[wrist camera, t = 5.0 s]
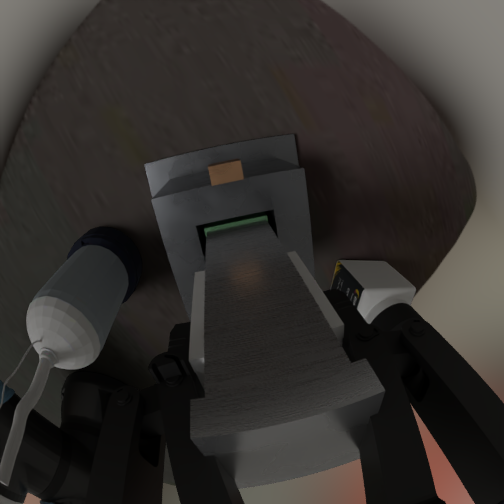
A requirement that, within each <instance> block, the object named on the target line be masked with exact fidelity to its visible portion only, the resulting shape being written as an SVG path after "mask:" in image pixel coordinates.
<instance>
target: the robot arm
mask: <svg viewBox="0 0 504 504" xmlns="http://www.w3.org/2000/svg"><path fill="white" fill-rule="evenodd" d="M287 254H288V256H289V257H290V259H291V261H292V262H293V264H294V266H295V267H296V269H297V271H298V272H299V274H300V276H301V277H302V279H303V281H304V282H305V284H306V286H307V287H308V289H309V291H310V292H311V294H312V296H313V297H314V299H315V301H316V302H317V304H318V306H319V308H320V309H321V311H322V313H323V314H324V316H325V318H326V320H327V321H328V323H329V325H330V326H331V328H332V330H333V332H334V333H335V335H336V337H337V339H338V340H339V342H340V344H341V346H342V347H343V349H344V351H345V353H346V355H347V356H348V358H349V360H350V362H351V363H353V362H356V361H359V360H361V359H364V358H366V359H367V361H368V363H369V364H370V366H371V368H372V369H373V371H374V372H375V374H376V376H377V377H378V379H379V381H380V382H381V384H382V386H383V387H384V389H385V393H384V397H383V400H382V403H381V406H380V409H379V412H378V413H377V414H375V415H372V416H370V419H369V422H368V425H367V428H366V431H365V434H364V437H363V440H362V443H361V445H360V448H359V453H360V459H361V465H362V472H363V479H364V487H365V494H366V503H367V504H446V503H445V501H443V500H441V499H440V498H438V496H437V494H436V490H435V486H434V482H433V477H432V474H431V469H430V466H429V462H428V458H427V455H426V451H425V448H424V444H423V441H422V438H421V435H420V431H419V428H418V425H417V422H416V419H415V416H414V413H413V410H412V407H411V405H412V406H413V408H414V409H415V411H416V412H417V413H418V415H419V417H420V418H421V419H422V421H423V423H424V424H425V425H426V427H427V429H428V430H429V431H430V433H431V434H432V436H433V438H434V439H435V441H436V442H437V444H438V445H439V447H440V448H441V450H442V451H443V453H444V454H445V456H446V458H447V459H448V461H449V462H450V464H451V466H452V467H453V469H454V470H455V472H456V474H457V475H458V477H459V478H460V480H461V482H462V483H463V485H464V487H465V488H466V490H467V491H468V493H469V495H470V497H471V498H472V500H473V501H474V503H475V504H504V403H503V402H502V401H501V400H500V398H499V397H498V396H497V395H496V394H495V393H494V391H493V390H492V389H491V388H490V387H489V386H488V385H487V384H486V382H485V381H484V380H483V379H482V378H481V377H480V376H479V375H478V373H477V372H476V371H475V370H474V369H473V368H472V367H471V366H470V365H469V364H468V363H467V361H466V360H465V359H464V358H463V357H462V356H461V355H460V354H459V353H458V352H457V351H456V350H455V349H454V348H453V347H452V346H451V345H450V344H449V343H448V342H447V341H446V340H445V339H444V338H443V337H442V336H441V335H440V334H439V333H438V332H437V331H436V330H435V329H434V328H433V327H432V326H431V325H430V324H429V323H428V322H426V321H425V320H421V319H410V320H408V321H406V322H405V323H404V324H403V326H402V328H401V330H396V331H381V330H380V328H379V327H377V326H375V325H372V324H368V323H367V322H366V321H365V319H364V318H363V317H362V315H361V314H360V313H359V311H358V310H357V309H356V307H355V306H353V303H352V302H351V301H350V300H349V298H348V297H347V295H346V294H345V293H344V292H342V291H340V290H338V289H337V288H335V289H331V290H327V291H324V292H323V291H322V290H321V288H320V287H319V285H318V284H317V282H316V281H315V279H314V278H313V276H312V275H311V274H310V272H309V271H308V269H307V268H306V266H305V265H304V263H303V262H302V260H301V259H300V257H299V256H298V254H297V253H296V252H295V251H292V252H288V253H287ZM204 297H205V270H204V271H199V272H195V277H194V288H193V300H192V313H191V322H186V323H181V324H176V325H175V326H174V328H173V329H172V331H171V332H170V339H169V340H170V342H169V346H168V347H169V348H168V352H165V353H162V354H160V355H157V356H156V357H155V358H154V359H153V360H152V361H151V363H150V364H149V371H150V373H151V374H152V376H153V378H154V379H155V381H156V384H155V385H153V386H151V387H149V388H146V389H143V390H141V391H138V389H137V388H135V387H133V386H128V385H125V384H124V383H122V382H120V381H118V380H116V379H113V378H111V377H108V376H105V375H102V374H98V373H93V372H76V373H73V374H71V375H69V376H68V377H67V378H66V380H65V382H64V385H63V387H62V391H61V399H62V405H61V419H62V422H61V426H60V428H58V427H57V426H55V425H54V424H53V423H51V422H50V421H49V420H47V419H46V418H45V417H43V416H42V415H41V414H39V413H38V412H37V411H36V410H34V409H32V410H31V411H30V413H29V414H28V417H27V421H26V426H25V431H24V435H23V438H22V441H21V445H20V448H19V450H18V453H17V456H16V460H15V463H14V467H13V470H12V474H11V478H10V481H9V485H8V486H6V485H4V484H3V483H1V482H0V504H23V503H24V500H25V497H26V494H27V493H31V494H33V495H35V496H36V497H38V498H40V499H41V501H40V504H162V488H163V472H164V458H165V446H166V443H167V448H168V453H169V458H170V462H171V467H172V471H173V476H174V480H175V484H176V488H177V492H178V495H179V499H180V503H181V504H244V501H243V499H242V497H241V494H240V492H239V490H238V487H237V485H236V482H235V480H234V479H233V478H232V477H231V475H230V474H229V473H228V472H227V471H226V469H225V468H224V467H223V466H222V464H221V463H220V462H219V461H218V459H217V458H216V457H215V455H211V456H204V455H203V453H202V452H201V451H200V450H199V449H198V447H197V446H196V445H195V444H194V442H193V441H192V440H191V439H190V401H191V399H198V398H205V377H204ZM3 386H4V383H3V382H2V381H1V380H0V404H1V400H2V392H3ZM20 400H21V398H20V397H19V396H18V395H17V394H15V391H14V390H13V389H11V388H9V387H8V386H6V385H5V390H4V397H3V404H2V406H1V408H0V464H1V460H2V457H3V453H4V450H5V446H6V443H7V440H8V437H9V434H10V431H11V427H12V423H13V418H14V413H15V410H16V407H17V405H18V403H19V402H20ZM410 403H411V404H410Z"/></svg>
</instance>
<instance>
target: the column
mask: <svg viewBox="0 0 504 504" xmlns="http://www.w3.org/2000/svg"><path fill="white" fill-rule="evenodd" d="M204 231H205V235H206V259H205V297H204V377H205V398H198V399H191V401H190V439H191V440H192V441H193V442H194V444H195V445H196V446H197V447H198V449H199V450H200V451H201V452H202V453H203V455H204V456H211V455H215V457H216V458H217V459H218V461H219V462H220V463H221V464H222V466H223V467H224V468H225V469H226V471H227V472H228V473H229V474H230V475H231V477H232V478H233V479H234V480H235V482H236V485H237V487H238V489H239V488H247V487H254V486H260V485H266V484H271V483H276V482H281V481H286V480H290V479H295V478H298V477H303V476H307V475H310V474H314V473H318V472H321V471H324V470H328V469H331V468H334V467H337V466H340V465H343V464H346V463H349V462H351V461H354V460H357V459H360V453H359V448H360V445H361V443H362V440H363V437H364V434H365V431H366V428H367V425H368V422H369V419H370V416H372V415H375V414H377V413H378V412H379V409H380V406H381V403H382V400H383V397H384V393H385V389H384V387H383V386H382V384H381V382H380V381H379V379H378V377H377V376H376V374H375V372H374V371H373V369H372V368H371V366H370V364H369V363H368V361H367V359H366V358H364V359H361V360H359V361H356V362H353V363H351V362H350V360H349V358H348V356H347V355H346V353H345V351H344V349H343V347H342V346H341V344H340V342H339V340H338V339H337V337H336V335H335V333H334V332H333V330H332V328H331V326H330V325H329V323H328V321H327V320H326V318H325V316H324V314H323V313H322V311H321V309H320V308H319V306H318V304H317V302H316V301H315V299H314V297H313V296H312V294H311V292H310V291H309V289H308V287H307V286H306V284H305V282H304V281H303V279H302V277H301V276H300V274H299V272H298V271H297V269H296V267H295V266H294V264H293V262H292V261H291V259H290V257H289V256H288V254H287V252H286V251H285V249H284V248H283V246H282V244H281V243H280V241H279V239H278V238H277V236H276V235H275V233H274V231H273V230H272V228H271V227H270V225H269V223H268V218H267V215H266V213H265V212H264V211H263V212H258V213H253V214H248V215H243V216H239V217H234V218H229V219H224V220H220V221H215V222H210V223H206V224H204Z"/></svg>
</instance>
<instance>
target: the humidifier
mask: <svg viewBox="0 0 504 504" xmlns="http://www.w3.org/2000/svg"><path fill="white" fill-rule="evenodd" d="M141 273H142V260H141V257H140V254H139V251H138V249H137V247H136V246H135V244H134V243H133V241H132V240H131V239H130V238H129V237H127V236H126V235H125V234H124V233H123V232H121V231H118V230H116V229H114V228H111V227H97V228H94V229H91V230H89V231H88V232H87V233H85V234H84V235H83V236H82V237H81V238H79V239H78V240H77V241H76V242H75V243H74V245H73V247H72V248H71V250H70V252H69V254H68V257H67V261H66V262H65V263H64V264H63V265H62V266H61V267H60V268H59V269H58V271H57V272H56V273H55V274H54V275H53V276H52V277H51V278H50V279H49V280H48V282H47V283H46V284H45V285H44V286H43V287H42V288H41V290H40V291H39V292H38V293H37V294H36V295H35V297H34V299H33V301H32V302H31V303H30V306H29V308H28V311H27V318H26V321H27V330H28V335H29V337H30V340H31V343H32V344H31V345H30V347H29V348H28V350H27V351H26V353H25V355H24V356H23V358H22V360H21V361H20V363H19V365H18V366H17V368H16V369H15V371H14V372H13V374H11V375H10V377H9V378H8V379H7V380H6V381H5V383H4V386H3V392H2V400H1V404H0V408H1V406H2V404H3V397H4V390H5V385H6V383H7V382H8V380H9V379H10V378H11V377H12V376H13V375H14V374H15V373H16V371H17V369H18V368H19V366H20V365H21V363H22V361H23V360H24V358H25V356H26V355H27V353H28V351H29V350H30V348H31V347H32V346H34V348H35V350H36V351H37V353H38V354H39V355H40V356H39V359H40V361H39V364H38V367H37V371H36V373H35V376H34V379H33V381H32V383H31V386H30V388H29V390H28V391H27V393H26V394H25V395H24V397H23V398H22V399H21V400H20V402H19V403H18V405H17V407H16V410H15V413H14V418H13V423H12V427H11V431H10V434H9V437H8V440H7V443H6V446H5V450H4V453H3V457H2V460H1V464H0V482H1V483H3V484H4V485H6V486H8V485H9V481H10V478H11V474H12V470H13V467H14V463H15V460H16V456H17V453H18V450H19V448H20V445H21V441H22V438H23V435H24V431H25V426H26V421H27V417H28V414H29V413H30V411H31V410H32V409H33V407H34V406H35V405H36V403H37V402H38V400H39V399H40V397H41V394H42V392H43V390H44V387H45V384H46V381H47V378H48V375H49V372H50V368H53V367H54V366H55V367H58V368H62V369H68V370H70V369H80V368H83V367H86V366H88V365H90V364H91V363H93V362H94V361H95V360H96V358H97V357H98V356H99V353H100V351H101V350H102V349H103V346H104V344H105V341H106V339H107V336H108V334H109V331H110V329H111V327H112V324H113V322H114V320H115V317H116V315H117V313H118V310H119V308H120V306H121V304H122V303H124V302H126V301H127V300H128V298H129V297H130V296H131V295H132V293H133V292H134V291H135V289H136V286H137V284H138V282H139V279H140V276H141Z"/></svg>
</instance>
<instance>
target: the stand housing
mask: <svg viewBox="0 0 504 504" xmlns="http://www.w3.org/2000/svg"><path fill="white" fill-rule="evenodd" d="M144 165H145V169H146V173H147V177H148V181H149V185H150V189H151V193H152V197H153V198H152V199H151V200H152V204H153V208H154V211H155V215H156V219H157V222H158V226H159V229H160V232H161V236H162V239H163V243H164V246H165V249H166V252H167V255H168V259H169V262H170V265H171V268H172V271H173V274H174V277H175V280H176V283H177V286H178V289H179V292H180V295H181V298H182V300H183V303H184V306H185V309H186V312H187V314H188V317H189V320H190V322H191V313H192V300H193V288H194V277H195V272H199V271H204V270H205V259H206V235H205V231H204V224H206V223H210V222H215V221H220V220H224V219H229V218H234V217H239V216H243V215H248V214H253V213H258V212H263V211H264V212H265V213H266V215H267V218H268V223H269V225H270V227H271V228H272V230H273V231H274V233H275V235H276V236H277V238H278V239H279V241H280V243H281V244H282V246H283V248H284V249H285V251H286V252H287V253H288V252H292V251H295V252H296V253H297V254H298V256H299V257H300V259H301V260H302V262H303V263H304V265H305V266H306V268H307V269H308V271H309V272H310V274H311V275H312V276H313V278H314V279H315V270H314V256H313V244H312V233H311V223H310V213H309V204H308V195H307V186H306V178H305V170H304V168H303V167H301V166H299V164H298V157H297V150H296V143H295V137H294V134H287V135H280V136H273V137H266V138H260V139H254V140H248V141H242V142H237V143H231V144H226V145H221V146H216V147H211V148H207V149H202V150H198V151H193V152H189V153H185V154H181V155H177V156H173V157H169V158H165V159H161V160H158V161H154V162H150V163H147V164H144Z"/></svg>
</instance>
